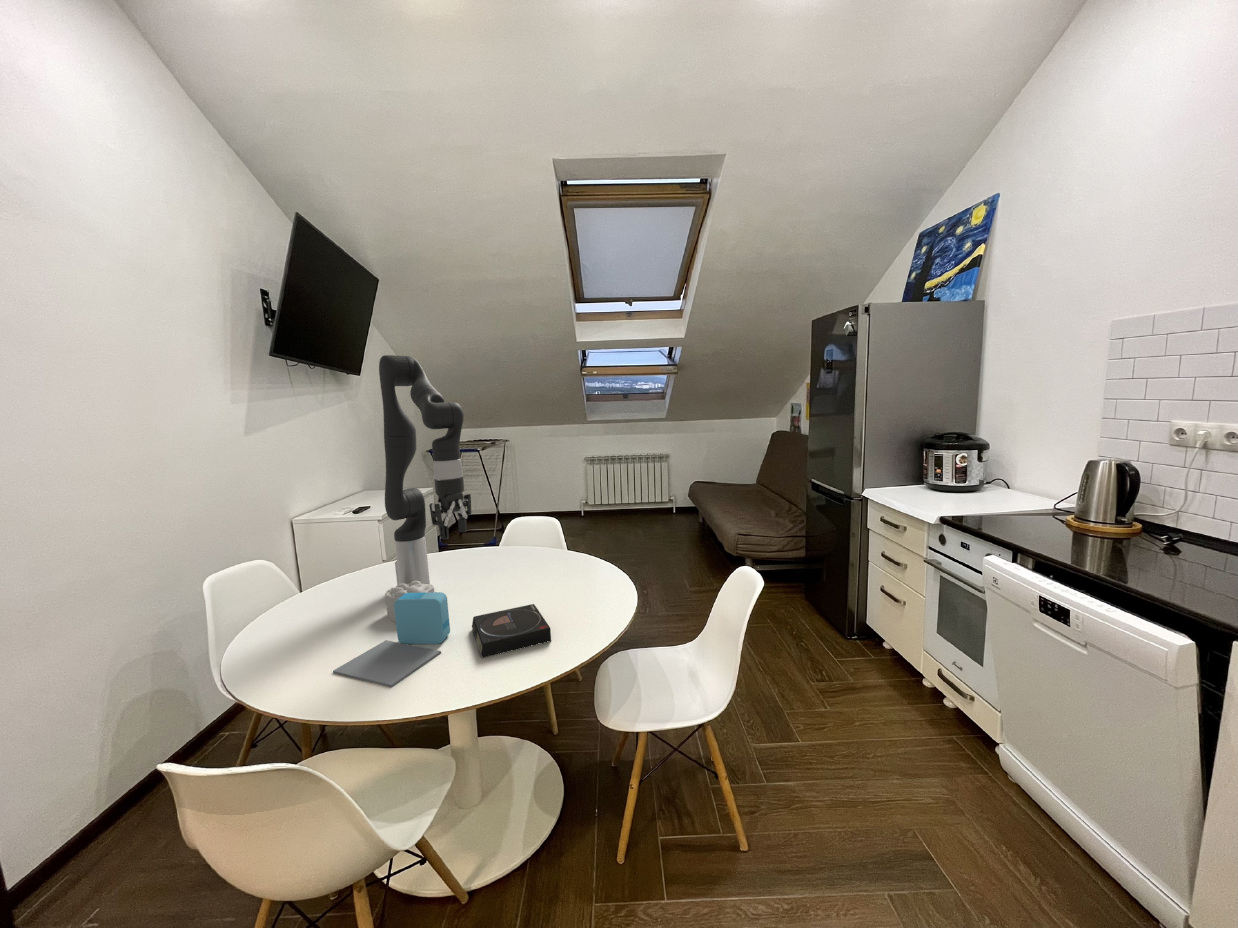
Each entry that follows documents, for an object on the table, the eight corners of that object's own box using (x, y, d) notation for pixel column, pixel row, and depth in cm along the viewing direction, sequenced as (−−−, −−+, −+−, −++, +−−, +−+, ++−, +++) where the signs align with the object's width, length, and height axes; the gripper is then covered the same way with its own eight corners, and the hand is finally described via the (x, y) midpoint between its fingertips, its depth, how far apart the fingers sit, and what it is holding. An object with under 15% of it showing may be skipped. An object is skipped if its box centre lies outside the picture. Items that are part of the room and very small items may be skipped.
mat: (333, 672, 113) (332, 670, 113) (386, 641, 127) (386, 640, 126) (391, 687, 106) (391, 685, 106) (441, 653, 120) (441, 651, 120)
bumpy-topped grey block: (422, 622, 137) (419, 593, 136) (378, 622, 139) (375, 592, 138) (440, 606, 147) (437, 579, 146) (399, 606, 149) (396, 578, 148)
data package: (451, 635, 129) (446, 591, 127) (443, 644, 124) (439, 598, 123) (406, 636, 129) (401, 592, 128) (397, 644, 125) (392, 599, 123)
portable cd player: (472, 631, 132) (470, 617, 131) (534, 617, 138) (533, 603, 138) (481, 660, 117) (480, 644, 116) (551, 642, 123) (550, 627, 123)
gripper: (455, 471, 142) (460, 527, 144) (418, 480, 129) (424, 541, 131) (476, 472, 139) (481, 529, 142) (440, 480, 126) (446, 543, 128)
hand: (454, 535), depth 136 cm, fingers open, 6 cm apart
